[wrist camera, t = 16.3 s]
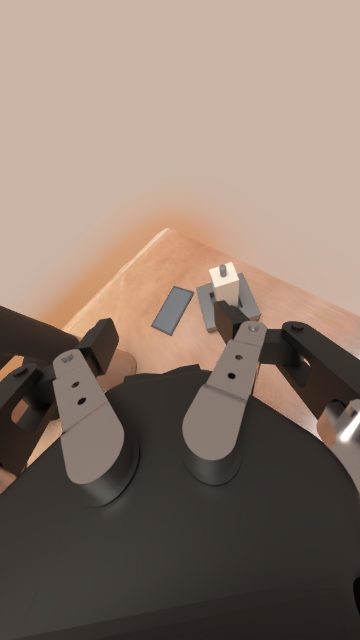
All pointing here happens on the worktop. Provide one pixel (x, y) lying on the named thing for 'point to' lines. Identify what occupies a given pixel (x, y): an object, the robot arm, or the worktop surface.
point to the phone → (172, 310)
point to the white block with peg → (225, 283)
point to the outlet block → (244, 303)
